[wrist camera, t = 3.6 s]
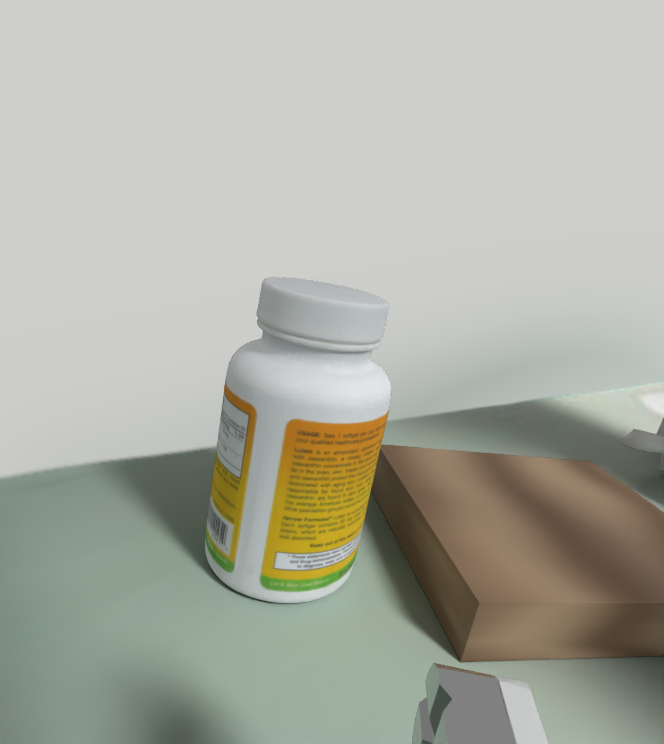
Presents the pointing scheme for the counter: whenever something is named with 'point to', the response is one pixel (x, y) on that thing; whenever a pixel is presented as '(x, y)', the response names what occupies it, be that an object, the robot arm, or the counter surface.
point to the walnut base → (527, 553)
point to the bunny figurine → (647, 442)
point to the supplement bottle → (298, 442)
